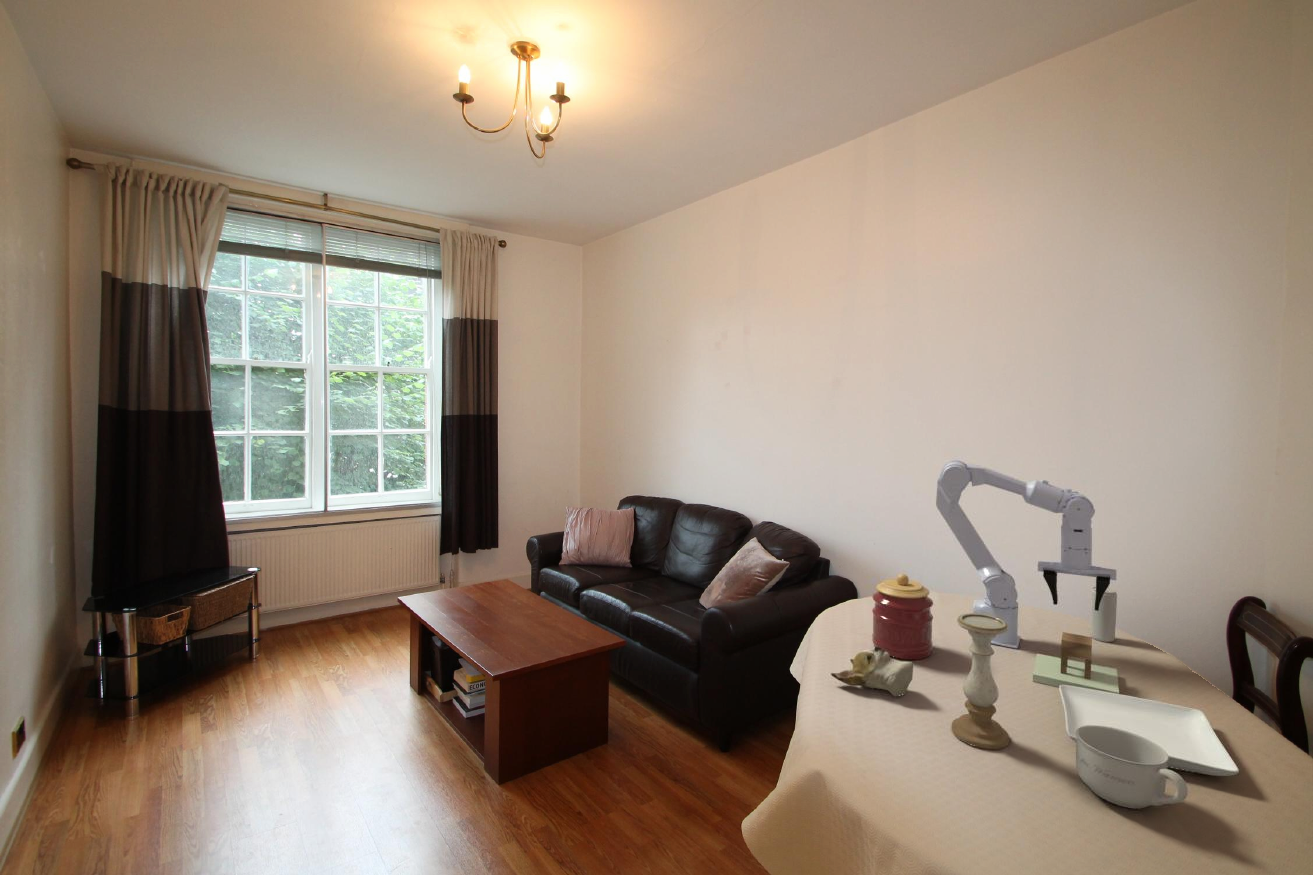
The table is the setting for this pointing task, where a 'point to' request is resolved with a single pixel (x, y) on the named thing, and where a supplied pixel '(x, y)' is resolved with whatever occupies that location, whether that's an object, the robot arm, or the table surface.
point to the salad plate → (1151, 727)
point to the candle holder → (981, 685)
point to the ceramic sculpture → (878, 672)
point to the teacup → (1125, 767)
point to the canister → (902, 618)
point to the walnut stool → (1076, 651)
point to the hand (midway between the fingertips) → (1075, 606)
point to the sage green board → (1074, 674)
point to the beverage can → (1104, 616)
